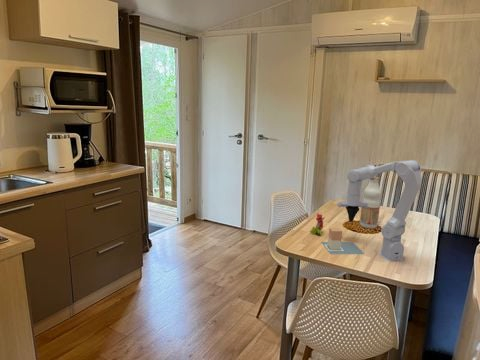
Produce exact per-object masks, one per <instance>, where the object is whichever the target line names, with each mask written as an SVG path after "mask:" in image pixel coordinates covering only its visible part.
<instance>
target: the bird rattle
mask: <svg viewBox="0 0 480 360" xmlns="http://www.w3.org/2000/svg"><path fill="white" fill-rule="evenodd" d="M325 218H326V217H325V216H323V214H319V213H317V214H316V218H315V219H316V221H317V222H316V226H313V227H312V228H311V230H310V231H309V233H311V234H312V235H316V234H318V235H320V236H321V237H322V236H323V233H322V232H321V231H322V230H323V228H324V220H325Z"/></svg>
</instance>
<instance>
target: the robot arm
mask: <svg viewBox="0 0 480 360" xmlns="http://www.w3.org/2000/svg"><path fill="white" fill-rule="evenodd" d="M386 172H392V173H394V174H396V175H397V176H398V177H399V178H400V179H401V180H402V181H403V182H404V183H405V186H404V190H403V191H402V194H401V195H400V197H399V200H398V202H397V205H396V207H395V209H394V211H393V213H392V214H391V217H390V218H389V219H388V220H387V222H386V223H385V225H383V226H382V227H381V231H380V232H381V235H382V237H383V238H382V245H381V251H377V253H378V255H380V256H381V257H382V258H383V259H385V260H386V261H388V262H389V261H390V262H391V261H392V262H394V261H396V262H397V261H398V262H401V261H405V259H403V257H404V251H405V247H404V245H403V243H402V235H404V234H405V231H406V225H407V222H406V218H407V217H408V215H409V212H410V210H411V208H412V205H413V203H414V202H415V200H416V197H417V196H418V193H419V191H420V189H421V186H422V175H421V174H422V167H421V165H420V163H419V161H418V160H415V159H409V160H399V161H392V162H388V163H385V164H382V165H378V166H375V165H372V164H366V165H365V166H363V167H357V169H351V170H349V171H348V172H347V177H346V178H347V179H348V189H347V198H346V201H337V203H336V204H337V207H338V208H341V207H343V208H345V209H346V212H347V216H348V221H349V222H354V219H355V217H356V215H357V213H358V212H360V208H362V207H368V203H364V202H362V201H360V198H361V192H362V191H361V190H362V184H363V181H365V180H369V179H370V178H374V177H378V174H382V173H386Z"/></svg>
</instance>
